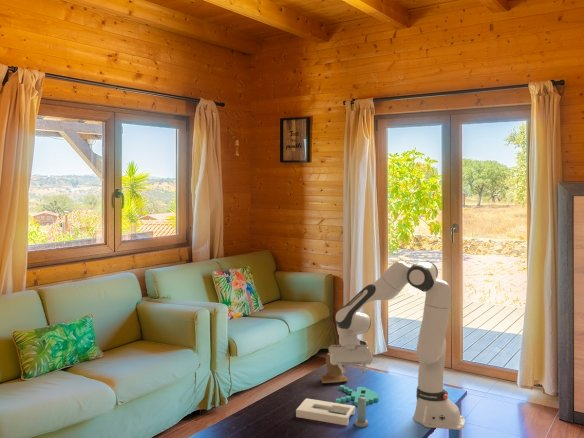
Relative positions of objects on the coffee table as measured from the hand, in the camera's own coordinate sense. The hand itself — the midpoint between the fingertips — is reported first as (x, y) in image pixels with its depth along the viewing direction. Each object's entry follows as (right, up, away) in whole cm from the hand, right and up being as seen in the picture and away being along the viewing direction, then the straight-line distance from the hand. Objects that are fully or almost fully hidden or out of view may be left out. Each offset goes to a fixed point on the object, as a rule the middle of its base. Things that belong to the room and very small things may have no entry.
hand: (353, 372), depth 256 cm
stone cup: (-6, -16, +41) cm, 45 cm away
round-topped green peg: (+2, -20, -11) cm, 23 cm away
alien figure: (+4, -18, +19) cm, 27 cm away
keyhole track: (-13, -19, -2) cm, 23 cm away
